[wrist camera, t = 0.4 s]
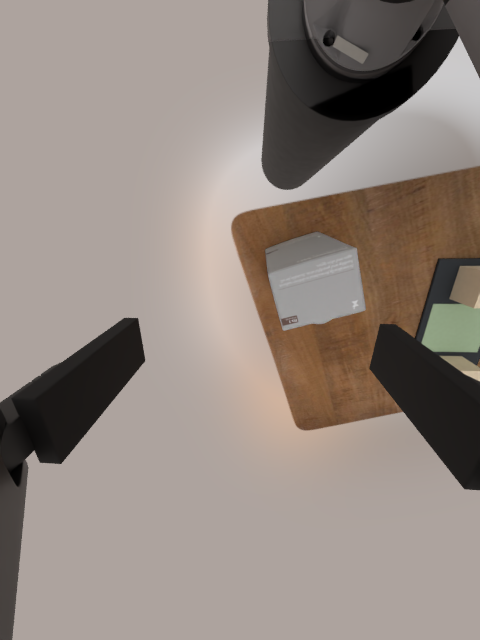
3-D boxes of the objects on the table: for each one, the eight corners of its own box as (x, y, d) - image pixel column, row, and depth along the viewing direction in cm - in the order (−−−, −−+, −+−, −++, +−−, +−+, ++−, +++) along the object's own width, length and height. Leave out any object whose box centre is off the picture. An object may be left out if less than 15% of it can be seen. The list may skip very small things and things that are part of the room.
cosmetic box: (317, 230, 34) (362, 235, 20) (326, 277, 37) (372, 312, 22) (261, 249, 36) (264, 266, 21) (273, 292, 38) (284, 335, 24)
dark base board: (438, 258, 35) (466, 263, 30) (519, 257, 34) (560, 263, 29) (402, 382, 43) (419, 401, 38) (466, 384, 42) (492, 404, 38)
